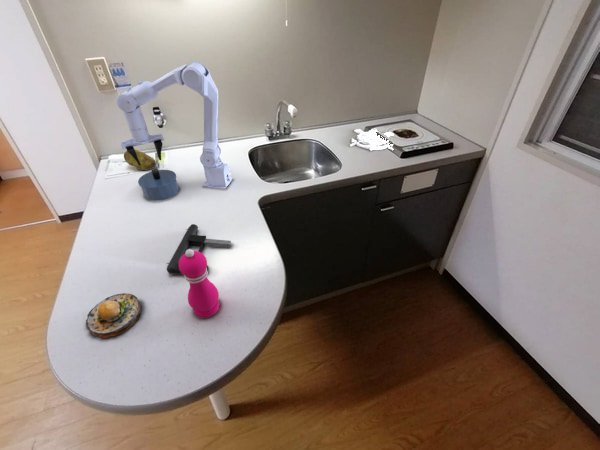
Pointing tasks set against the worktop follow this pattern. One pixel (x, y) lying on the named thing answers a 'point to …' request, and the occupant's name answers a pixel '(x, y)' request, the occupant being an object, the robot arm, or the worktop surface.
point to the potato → (140, 160)
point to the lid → (157, 179)
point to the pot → (161, 192)
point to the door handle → (193, 241)
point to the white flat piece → (371, 140)
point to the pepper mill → (199, 284)
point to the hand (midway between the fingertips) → (149, 161)
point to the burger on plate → (113, 315)
